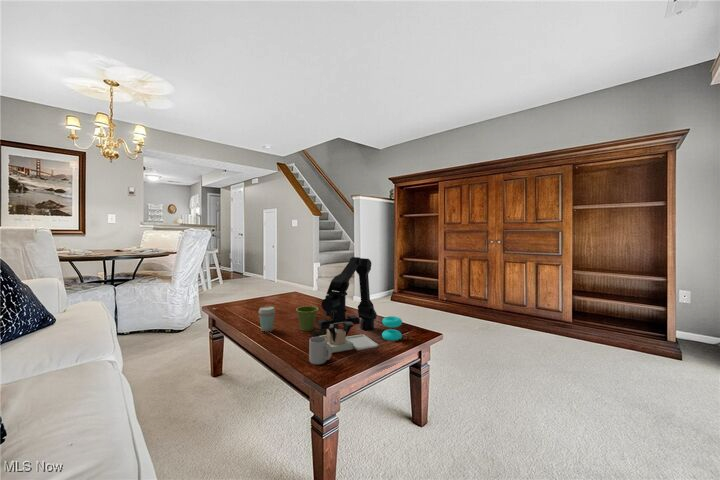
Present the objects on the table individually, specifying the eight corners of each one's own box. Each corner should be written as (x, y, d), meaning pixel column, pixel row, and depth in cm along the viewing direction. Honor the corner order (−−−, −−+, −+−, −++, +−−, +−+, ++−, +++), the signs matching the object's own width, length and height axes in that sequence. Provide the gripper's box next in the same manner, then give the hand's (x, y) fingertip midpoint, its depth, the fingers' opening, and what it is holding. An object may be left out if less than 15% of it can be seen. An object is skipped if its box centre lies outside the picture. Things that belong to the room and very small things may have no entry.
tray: (363, 336, 155) (363, 334, 155) (378, 347, 141) (378, 345, 141) (343, 339, 150) (343, 337, 150) (357, 351, 136) (357, 348, 136)
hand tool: (317, 339, 151) (317, 330, 150) (311, 337, 153) (311, 328, 153) (342, 329, 166) (342, 321, 166) (336, 328, 168) (336, 319, 168)
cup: (315, 356, 131) (315, 335, 130) (335, 360, 127) (336, 339, 126) (305, 362, 124) (305, 341, 124) (326, 367, 120) (326, 345, 120)
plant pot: (291, 331, 162) (291, 310, 161) (303, 324, 173) (303, 305, 172) (310, 334, 157) (311, 312, 157) (322, 327, 168) (322, 307, 168)
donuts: (390, 314, 160) (406, 318, 153) (389, 333, 160) (405, 338, 154) (378, 318, 153) (394, 322, 146) (377, 338, 153) (393, 343, 146)
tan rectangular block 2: (340, 340, 142) (340, 328, 141) (345, 343, 138) (345, 331, 138) (332, 342, 139) (332, 330, 139) (337, 345, 135) (337, 333, 135)
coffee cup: (277, 328, 166) (277, 306, 166) (271, 333, 158) (271, 310, 157) (262, 327, 167) (262, 305, 167) (255, 332, 159) (255, 309, 158)
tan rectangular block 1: (335, 339, 149) (335, 328, 148) (338, 342, 145) (338, 331, 144) (326, 340, 147) (326, 329, 147) (329, 344, 143) (330, 332, 142)
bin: (340, 338, 152) (340, 332, 151) (353, 350, 138) (353, 343, 137) (318, 342, 147) (319, 335, 147) (330, 354, 133) (330, 347, 133)
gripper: (350, 300, 149) (350, 332, 150) (313, 304, 141) (313, 337, 142) (360, 305, 139) (360, 339, 140) (321, 310, 131) (321, 346, 132)
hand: (338, 340), depth 138 cm, fingers closed on tan rectangular block 2, 5 cm apart
